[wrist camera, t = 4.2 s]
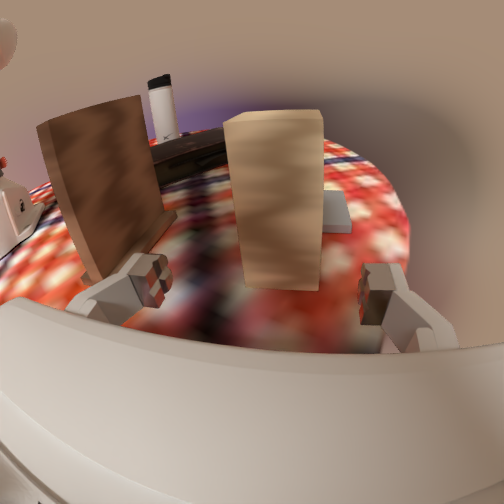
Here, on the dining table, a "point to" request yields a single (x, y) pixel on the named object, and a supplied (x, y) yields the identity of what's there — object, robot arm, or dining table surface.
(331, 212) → the slate coaster
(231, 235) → the dining table surface
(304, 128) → the tan boxy piece
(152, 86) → the travel mug
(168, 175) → the diary
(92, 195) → the screen
